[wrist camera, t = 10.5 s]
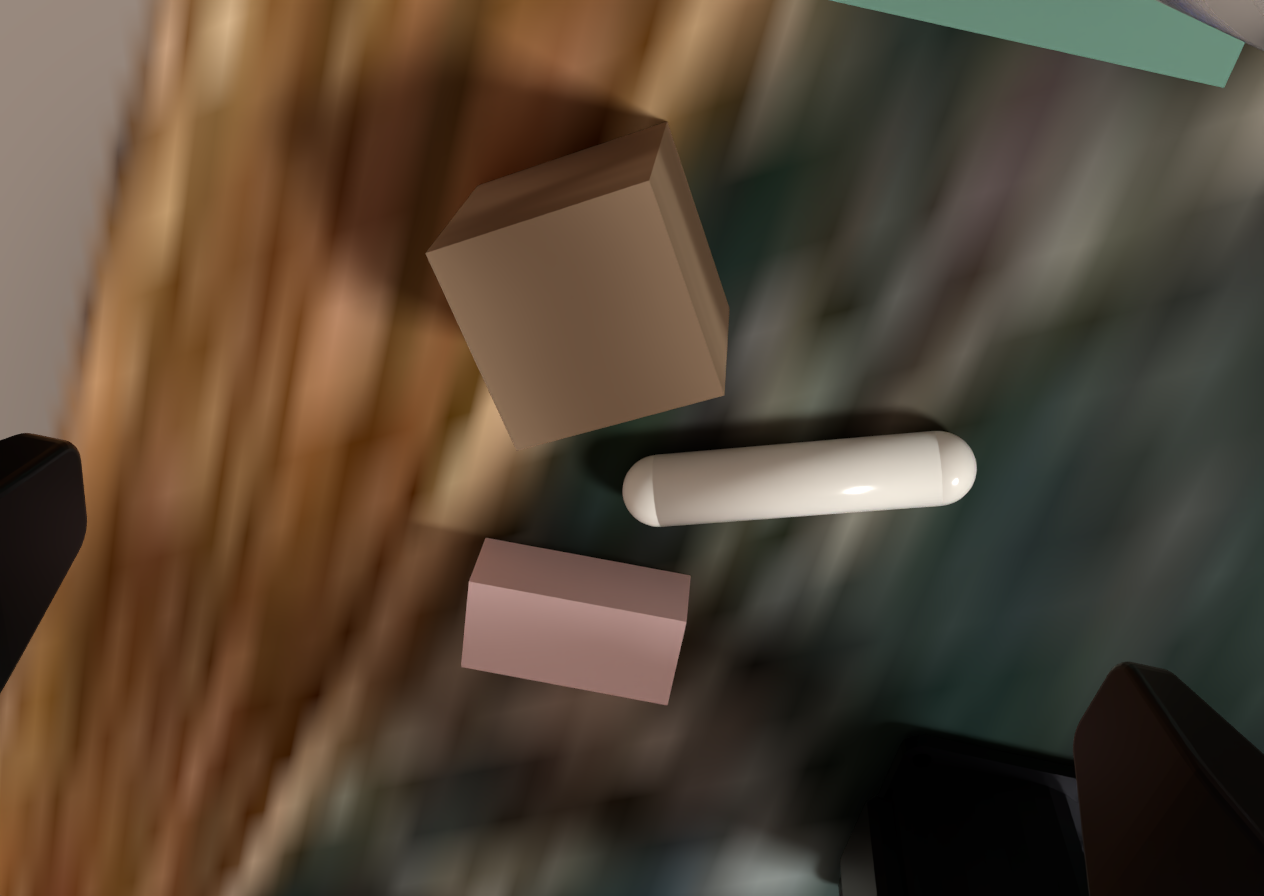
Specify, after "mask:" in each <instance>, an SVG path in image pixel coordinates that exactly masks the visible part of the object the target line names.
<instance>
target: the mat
mask: <svg viewBox="0 0 1264 896" xmlns="http://www.w3.org/2000/svg"><path fill="white" fill-rule="evenodd" d="M831 1H835V2H840V3H844V4H849V5H853V6H858V7H862V8H867V9H871V10H876V11H880V12H885V13H889V14H894V15H898V16H903V17H907V18H912V19H916V20H921V21H925V22H930V23H934V24H939V25H943V26H948V27H952V28H957V29H961V30H966V31H970V32H975V33H979V34H984V35H988V36H993V37H997V38H1002V39H1006V40H1011V41H1015V42H1020V43H1024V44H1029V45H1033V46H1038V47H1042V48H1047V49H1051V50H1056V51H1060V52H1065V53H1069V54H1074V55H1078V56H1083V57H1087V58H1092V59H1096V60H1101V61H1105V62H1110V63H1114V64H1119V65H1123V66H1128V67H1132V68H1137V69H1141V70H1146V71H1150V72H1155V73H1159V74H1164V75H1168V76H1173V77H1177V78H1182V79H1186V80H1191V81H1195V82H1200V83H1204V84H1209V85H1213V86H1218V87H1222V88H1224V87H1225V84H1226V82H1227V80H1228V78H1229V76H1230V74H1231V72H1232V69H1233V67H1234V65H1235V63H1236V61H1237V59H1238V56H1239V54H1240V52H1241V50H1242V48H1243V46H1244V44H1245V42H1243V41H1241V40H1239V39H1236V38H1234V37H1232V36H1230V35H1228V34H1226V33H1224V32H1222V31H1220V30H1217V29H1215V28H1213V27H1211V26H1209V25H1207V24H1205V23H1203V22H1200V21H1198V20H1196V19H1194V18H1192V17H1190V16H1188V15H1186V14H1184V13H1181V12H1179V11H1177V10H1175V9H1173V8H1171V7H1169V6H1167V5H1164V4H1162V3H1160V2H1158V1H1156V0H831Z"/></svg>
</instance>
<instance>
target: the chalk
mask: <svg viewBox="0 0 1264 896" xmlns="http://www.w3.org/2000/svg"><path fill="white" fill-rule="evenodd" d="M976 471H977V466H976V459H975V457H974V454H973V452H972V450H971V449H970V447H969V446H968V444H967V443H966V442H965V441H964V440H963V439H961V438H960V437H958V436H956V435H954V434H952V433H949V432H944V431H926V432H914V433H902V434H891V435H879V436H867V437H856V438H844V439H833V440H821V441H809V442H798V443H786V444H775V445H763V446H751V447H740V448H728V449H717V450H705V451H693V452H682V453H670V454H659V455H652V456H648V457H645V458H643V459H641V460H639V461H638V462H636V463H635V464H634V465H633V466H632V467H631V468H630V470H629V471H628V473H627V474H626V477H625V479H624V483H623V490H622V492H623V499H624V502H625V505H626V507H627V509H628V510H629V512H630V513H631V514H632V515H633V517H634V518H636V519H637V520H638V521H640V522H642V523H644V524H646V525H649V526H654V527H664V526H677V525H691V524H704V523H718V522H731V521H744V520H758V519H771V518H784V517H798V516H811V515H825V514H838V513H851V512H865V511H878V510H891V509H905V508H918V507H932V506H943V505H949V504H951V503H954V502H956V501H958V500H959V499H961V498H962V497H963V496H964V495H965V494H966V493H968V491H969V490H970V488H971V487H972V485H973V483H974V480H975V477H976Z"/></svg>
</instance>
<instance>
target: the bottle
mask: <svg viewBox="0 0 1264 896" xmlns="http://www.w3.org/2000/svg"><path fill="white" fill-rule="evenodd" d="M1156 1H1158V2H1160V3H1162V4H1164V5H1167V6H1169V7H1171V8H1173V9H1175V10H1177V11H1179V12H1181V13H1184V14H1186V15H1188V16H1190V17H1192V18H1194V19H1196V20H1198V21H1200V22H1203V23H1205V24H1207V25H1209V26H1211V27H1213V28H1215V29H1217V30H1220V31H1222V32H1224V33H1226V34H1228V35H1230V36H1232V37H1234V38H1236V39H1239V40H1241V41H1243V42H1245V43H1247V44H1249V45H1251V46H1253V47H1255V48H1258V49H1260V50H1262V51H1264V0H1156Z"/></svg>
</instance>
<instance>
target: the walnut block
mask: <svg viewBox="0 0 1264 896" xmlns="http://www.w3.org/2000/svg"><path fill="white" fill-rule="evenodd" d="M425 254H426V256H427V258H428V260H429V262H430V264H431V267H432V269H433V271H434V273H435V275H436V278H437V280H438V282H439V284H440V286H441V288H442V291H443V293H444V295H445V297H446V299H447V301H448V304H449V306H450V308H451V310H452V312H453V314H454V317H455V319H456V321H457V323H458V325H459V327H460V330H461V332H462V334H463V336H464V338H465V340H466V343H467V345H468V347H469V349H470V351H471V353H472V356H473V358H474V360H475V362H476V364H477V366H478V369H479V371H480V373H481V375H482V377H483V379H484V382H485V384H486V386H487V388H488V390H489V392H490V395H491V397H492V399H493V401H494V403H495V405H496V408H497V410H498V412H499V414H500V416H501V418H502V421H503V423H504V425H505V427H506V429H507V431H508V434H509V436H510V438H511V440H512V442H513V444H514V447H515V449H516V451H518V450H522V449H525V448H529V447H533V446H537V445H540V444H544V443H548V442H552V441H555V440H559V439H563V438H566V437H570V436H574V435H578V434H581V433H585V432H589V431H593V430H596V429H600V428H604V427H608V426H611V425H615V424H619V423H623V422H626V421H630V420H634V419H638V418H641V417H645V416H649V415H653V414H656V413H660V412H664V411H667V410H671V409H675V408H679V407H682V406H686V405H690V404H694V403H697V402H701V401H705V400H709V399H712V398H716V397H720V396H724V391H725V375H726V358H727V341H728V324H729V306H728V303H727V300H726V297H725V294H724V291H723V288H722V285H721V282H720V279H719V276H718V272H717V269H716V266H715V263H714V260H713V257H712V254H711V251H710V248H709V245H708V242H707V239H706V236H705V233H704V230H703V227H702V224H701V221H700V218H699V215H698V212H697V209H696V206H695V203H694V200H693V197H692V194H691V191H690V188H689V185H688V182H687V179H686V176H685V173H684V170H683V167H682V164H681V161H680V158H679V155H678V152H677V149H676V146H675V143H674V140H673V137H672V134H671V131H670V128H669V125H668V122H664V123H661V124H658V125H655V126H652V127H649V128H646V129H643V130H640V131H637V132H634V133H632V134H629V135H626V136H623V137H620V138H617V139H614V140H611V141H608V142H605V143H602V144H599V145H596V146H593V147H590V148H587V149H584V150H581V151H578V152H575V153H572V154H569V155H567V156H564V157H561V158H558V159H555V160H552V161H549V162H546V163H543V164H540V165H537V166H534V167H531V168H528V169H525V170H522V171H519V172H516V173H513V174H510V175H507V176H504V177H501V178H499V179H496V180H493V181H490V182H487V183H484V184H481V185H478V186H477V187H476V188H475V190H474V191H473V192H472V193H471V195H470V196H469V197H468V199H467V200H466V201H465V203H464V204H463V205H462V206H461V208H460V209H459V210H458V212H457V213H456V214H455V215H454V217H453V218H452V219H451V221H450V222H449V223H448V225H447V226H446V227H445V228H444V230H443V231H442V232H441V234H440V235H439V236H438V237H437V239H436V240H435V241H434V243H433V244H432V245H431V247H430V248H429V249H428V250H427V252H426V253H425Z"/></svg>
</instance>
